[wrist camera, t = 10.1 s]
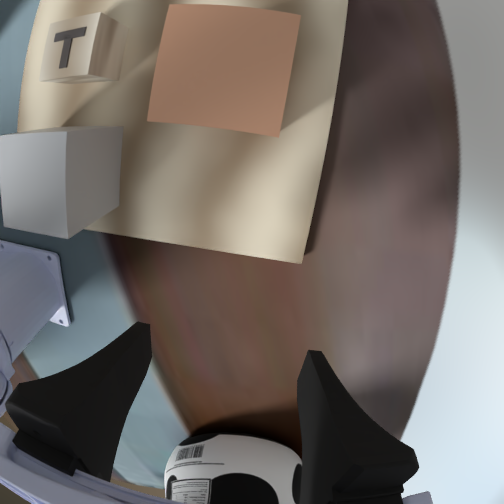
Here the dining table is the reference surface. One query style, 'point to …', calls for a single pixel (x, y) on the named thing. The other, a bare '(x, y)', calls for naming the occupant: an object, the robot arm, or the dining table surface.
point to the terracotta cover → (224, 67)
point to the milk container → (233, 471)
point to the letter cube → (84, 50)
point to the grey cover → (59, 178)
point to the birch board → (200, 135)
